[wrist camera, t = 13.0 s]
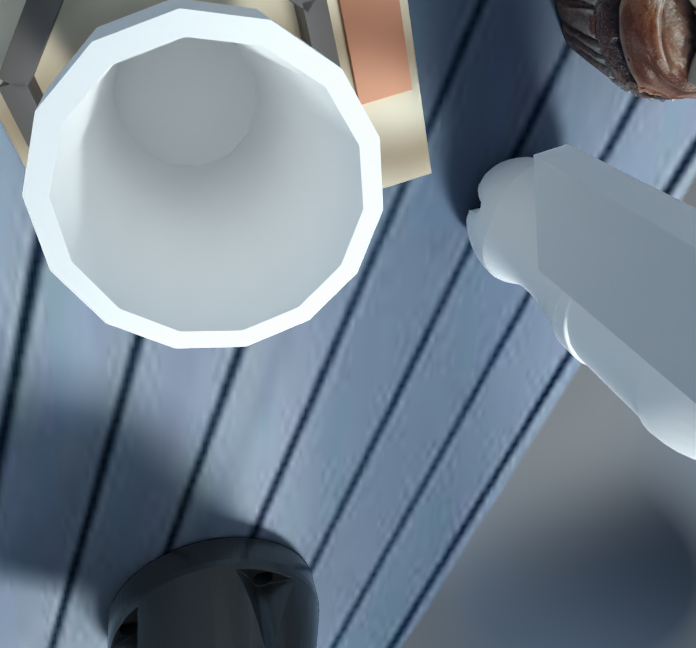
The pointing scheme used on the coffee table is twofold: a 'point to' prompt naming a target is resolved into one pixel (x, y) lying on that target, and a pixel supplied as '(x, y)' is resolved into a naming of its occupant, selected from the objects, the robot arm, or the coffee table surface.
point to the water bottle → (571, 305)
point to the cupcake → (636, 43)
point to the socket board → (276, 3)
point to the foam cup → (202, 176)
